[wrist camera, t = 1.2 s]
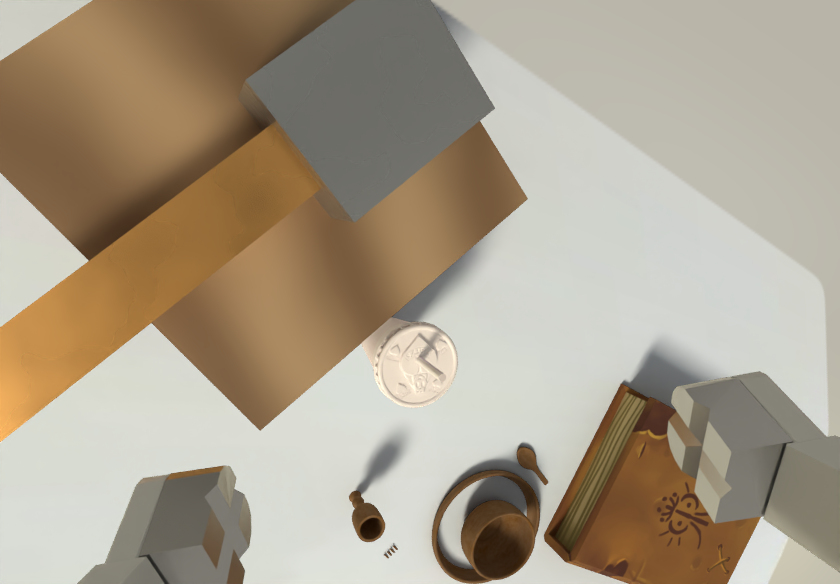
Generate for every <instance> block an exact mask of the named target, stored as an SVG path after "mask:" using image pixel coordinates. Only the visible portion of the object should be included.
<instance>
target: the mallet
mask: <svg viewBox="0 0 840 584" xmlns="http://www.w3.org/2000/svg"><path fill="white" fill-rule="evenodd" d="M238 100H239V101H240V102H241V104H242V105H243V106H244V108H245V109H246V110H247V111H248V113H249V114H250V115H251V117H252V118H253V119H254V120H255V122H256V123H257V124H258V126H259V127H260V128H261V129H262V132H261V133H259V134H258V135H257V136H255V137H254V138H253V139H251V140H250V141H249V142H247V143H246V144H245V145H243V146H242V147H241V148H239V149H238V150H237V151H235V152H234V153H232V154H231V155H230V156H228V157H227V158H226V159H224V160H223V161H222V162H220V163H219V164H218V165H216V166H215V167H214V168H212V169H211V170H210V171H208V172H207V173H206V174H204V175H203V176H202V177H200V178H199V179H198V180H196V181H195V182H194V183H192V184H191V185H190V186H188V187H187V188H186V189H184V190H183V191H182V192H180V193H179V194H178V195H176V196H175V197H174V198H172V199H171V200H170V201H168V202H167V203H166V204H164V205H163V206H162V207H160V208H159V209H158V210H156V211H155V212H154V213H152V214H151V215H150V216H148V217H147V218H146V219H144V220H143V221H142V222H140V223H139V224H138V225H136V226H135V227H134V228H132V229H131V230H130V231H128V232H127V233H126V234H124V235H123V236H122V237H120V238H119V239H118V240H116V241H115V242H114V243H112V244H111V245H110V246H108V247H107V248H106V249H104V250H103V251H102V252H100V253H99V254H98V255H96V256H95V257H94V258H92V259H91V260H90V261H88V262H87V263H86V264H84V265H83V266H82V267H80V268H79V269H78V270H76V271H75V272H74V273H72V274H71V275H70V276H68V277H67V278H66V279H64V280H63V281H62V282H60V283H59V284H58V285H56V286H55V287H54V288H52V289H51V290H50V291H48V292H47V293H46V294H44V295H43V296H42V297H40V298H39V299H38V300H36V301H35V302H34V303H32V304H31V305H30V306H28V307H27V308H26V309H24V310H23V311H22V312H20V313H19V314H18V315H16V316H15V317H14V318H12V319H11V320H10V321H8V322H7V323H6V324H4V325H3V326H2V327H0V442H1V441H2V440H3V439H5V438H6V437H7V436H9V435H10V434H11V433H12V432H14V431H15V430H16V429H17V428H19V427H20V426H21V425H22V424H24V423H25V422H26V421H27V420H29V419H30V418H31V417H33V416H34V415H35V414H36V413H38V412H39V411H40V410H41V409H43V408H44V407H45V406H46V405H48V404H49V403H50V402H52V401H53V400H54V399H55V398H57V397H58V396H59V395H60V394H62V393H63V392H64V391H65V390H67V389H68V388H69V387H71V386H72V385H73V384H74V383H76V382H77V381H78V380H79V379H81V378H82V377H83V376H84V375H86V374H87V373H88V372H90V371H91V370H92V369H93V368H95V367H96V366H97V365H98V364H100V363H101V362H102V361H103V360H105V359H106V358H107V357H109V356H110V355H111V354H112V353H114V352H115V351H116V350H117V349H119V348H120V347H121V346H122V345H124V344H125V343H126V342H128V341H129V340H130V339H131V338H133V337H134V336H135V335H136V334H138V333H139V332H140V331H141V330H143V329H144V328H145V327H147V326H148V325H149V324H150V323H152V322H153V321H154V320H155V319H157V318H158V317H159V316H160V315H162V314H163V313H164V312H165V311H167V310H168V309H169V308H171V307H172V306H173V305H174V304H176V303H177V302H178V301H179V300H181V299H182V298H183V297H184V296H186V295H187V294H188V293H190V292H191V291H192V290H193V289H195V288H196V287H197V286H198V285H200V284H201V283H202V282H203V281H205V280H206V279H207V278H209V277H210V276H211V275H212V274H214V273H215V272H216V271H217V270H219V269H220V268H221V267H222V266H224V265H225V264H226V263H228V262H229V261H230V260H231V259H233V258H234V257H235V256H236V255H238V254H239V253H240V252H241V251H243V250H244V249H245V248H247V247H248V246H249V245H250V244H252V243H253V242H254V241H255V240H257V239H258V238H259V237H260V236H262V235H263V234H264V233H266V232H267V231H268V230H269V229H271V228H272V227H273V226H274V225H276V224H277V223H278V222H279V221H281V220H282V219H283V218H285V217H286V216H287V215H288V214H290V213H291V212H292V211H293V210H295V209H296V208H297V207H298V206H300V205H301V204H302V203H303V202H305V201H306V200H307V199H309V198H310V197H311V196H312V195H313V196H314V197H315V199H316V200H317V201H318V202H319V204H320V205H321V206H322V207H323V209H324V210H325V211H326V213H327V214H328V215H329V216H330V218H334V219H339V220H344V221H349V222H354V223H355V222H356V221H357V220H358V219H360V218H361V217H362V216H363V215H365V214H366V213H367V212H368V211H370V210H371V209H372V208H373V207H374V206H376V205H377V204H378V203H379V202H381V201H382V200H383V199H384V198H385V197H387V196H388V195H389V194H390V193H392V192H393V191H394V190H395V189H397V188H398V187H399V186H400V185H401V184H403V183H404V182H405V181H406V180H408V179H409V178H410V177H411V176H412V175H414V174H415V173H416V172H417V171H419V170H420V169H421V168H422V167H424V166H425V165H426V164H427V163H428V162H430V161H431V160H432V159H433V158H435V157H436V156H437V155H438V154H440V153H441V152H442V151H443V150H444V149H446V148H447V147H448V146H449V145H451V144H452V143H453V142H454V141H455V140H457V139H458V138H459V137H460V136H462V135H463V134H464V133H465V132H467V131H468V130H469V129H470V128H471V127H473V126H474V125H475V124H476V123H478V122H479V121H480V120H481V119H482V118H484V117H485V116H486V115H487V114H489V113H490V112H491V111H492V110H494V109H495V107H494V106H493V104H492V102H491V101H490V99H489V97H488V96H487V94H486V92H485V91H484V89H483V87H482V86H481V84H480V82H479V81H478V79H477V77H476V76H475V74H474V72H473V71H472V69H471V67H470V66H469V64H468V62H467V61H466V59H465V57H464V56H463V54H462V52H461V51H460V49H459V47H458V46H457V44H456V42H455V41H454V39H453V37H452V36H451V34H450V32H449V31H448V29H447V27H446V25H445V24H444V22H443V20H442V19H441V17H440V15H439V14H438V12H437V10H436V9H435V7H434V5H433V4H432V2H431V0H355V1H354V2H352V3H351V4H349V5H348V6H347V7H345V8H344V9H343V10H341V11H340V12H338V13H337V14H336V15H334V16H333V17H331V18H330V19H329V20H327V21H326V22H325V23H323V24H322V25H320V26H319V27H318V28H316V29H315V30H314V31H312V32H311V33H309V34H308V35H307V36H305V37H304V38H302V39H301V40H300V41H298V42H297V43H296V44H294V45H293V46H291V47H290V48H289V49H287V50H286V51H285V52H283V53H282V54H280V55H279V56H278V57H276V58H275V59H273V60H272V61H271V62H269V63H268V64H267V65H265V66H264V67H262V68H261V69H260V70H258V71H257V72H256V73H254V74H253V75H251V76H250V77H249V78H247V79H246V80H245V82H244V85H243V87H242V89H241V92H240V94H239V97H238Z"/></svg>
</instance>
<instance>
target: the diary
mask: <svg viewBox="0 0 840 584" xmlns="http://www.w3.org/2000/svg"><path fill="white" fill-rule="evenodd" d="M675 413H676V410H674V409H672V408H671V407H669V406H667V405H665V404H663V403H662V402H660V401H658V400H656V399H654V398H652V397H649V398H647V397H645V396H644V395H642V394H640V393H638V392H636V391H634V390H633V389H631V388H629V387H627V386H625V385H623V384H621V385H620V387H619V389H618V391H617V393H616V395H615V397H614V399H613V401H612V403H611V405H610V406H609V408H608V410H607V412H606V414H605V416H604V418H603V420H602V422H601V424H600V426H599V428H598V430H597V432H596V434H595V436H594V438H593V440H592V442H591V444H590V446H589V448H588V450H587V452H586V454H585V456H584V458H583V459H582V461H581V463H580V465H579V467H578V469H577V471H576V473H575V475H574V477H573V479H572V481H571V483H570V485H569V487H568V489H567V491H566V493H565V495H564V497H563V499H562V501H561V503H560V505H559V507H558V509H557V511H556V512H555V514H554V516H553V518H552V520H551V522H550V524H549V526H548V528H547V530H546V532H545V534H544V539H545V542H546V543H547V544H548V545H549V546H550V547H551V548H552V549H553V550H554V551H555V552H556V553H557V554H558V555H559V556H560V557H561V558H562V559H563V560H564V561H565V562H567V563H570V564H573V565H576V566H579V567H582V568H585V569H588V570H591V571H593V572H596V573H599V574H602V575H605V576H608V577H611V578H614V579H617V580H620V581H623V582H626V583H629V584H727V583H728V581H729V579H730V577H731V575H732V573H733V571H734V569H735V567H736V565H737V563H738V561H739V559H740V557H741V555H742V553H743V551H744V549H745V547H746V545H747V543H748V541H749V540H750V538H751V536H752V534H753V532H754V530H755V528H756V526H757V524H758V522H759V520H760V518H761V517H755V518H749V519H742V520H735V521H728V522H722V523H714V522H713V520H712V519H711V517H710V516H709V514H708V512H707V511H706V509H705V508H704V506H703V504H702V503H701V501H700V500H699V498H698V496H697V495H696V493H695V492H694V491H695V485H696V479H695V478H693V477H691V476H689V475H688V474H686V473H684V472H683V471H681V469H680V467H679V466H678V464H677V462H676V461H675V459H674V456H673V454H672V452H671V449H670V445H669V440H668V435H667V431H668V420H669V419H670V418H671V417H672V416H673V415H674V414H675Z"/></svg>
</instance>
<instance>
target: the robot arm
mask: <svg viewBox="0 0 840 584" xmlns="http://www.w3.org/2000/svg"><path fill="white" fill-rule="evenodd" d="M671 403H672V405H673V406H674V408H675V409H676V413H675V414H674V415H673V416H672V417H671V418H670V419H669V420H668V431H667V435H668V440H669V445H670V449H671V452H672V454H673V456H674V459H675V461H676V462H677V464H678V466H679V467H680V469H681V471H683V472H684V473H686V474H688V475H689V476H691V477H693V478H695V479H696V485H695V491H694V492H695V493H696V495H697V496H698V498H699V500H700V501H701V503H702V504H703V506H704V508H705V509H706V511H707V512H708V514H709V516H710V517H711V519H712V520H713V522H714V523H722V522H728V521H735V520H742V519H749V518H755V517H762V516H764V518H763V519H764V520H766V521H767V522H769V523H770V524H771V525H773V526H774V527H776V528H777V529H778V530H780V531H781V532H783V533H784V534H786V535H787V536H788V537H790V538H791V539H793V540H794V541H796V542H797V543H798V544H800V545H801V546H803V547H804V548H805V549H807V550H808V551H810V552H811V553H813V554H814V555H816V556H817V557H818V558H820V559H821V560H823V561H824V562H826V563H827V564H828V565H830V566H831V567H833V568H834V569H835V570H837V571H838V572H840V437H838V436H829V437H826V436H825V435H824V434H823V432H822V431H821V430H820V429H819V428H818V427H817V426H816V425H815V424H814V423H813V422H812V421H811V420H810V419H809V418H808V417H807V416H806V415H805V414H804V413H803V412H802V411H801V410H800V409H799V408H798V407H797V406H796V405H795V403H794V402H793V401H792V400H791V399H790V398H789V397H788V396H787V395H786V394H785V393H784V392H783V391H782V390H781V389H780V388H779V387H778V386H777V385H776V384H775V383H774V382H773V381H772V380H771V379H770V378H769V377H768V376H767V375H766V374H764V373H762V372H760V371H759V372H754V373H748V374H743V375H737V376H732V377H725V378H720V379H714V380H709V381H704V382H698V383H693V384H687V385H682V386H677V387H676V388H675V390H674V391H673V393H672V400H671ZM235 483H236V476H235V475H234V473H233V471H232V469H231V467H230V466H219V467H212V468H205V469H198V470H192V471H185V472H178V473H171V474H168V475H161V476H154V477H148V478H143V479H142V480H141V481H140V482H139V483H138V484H137V485H136V487H135V489H134V492H133V494H132V497H131V499H130V502H129V504H128V507H127V509H126V511H125V514H124V516H123V519H122V521H121V524H120V526H119V529H118V531H117V534H116V536H115V539H114V541H113V544H112V546H111V549H110V551H109V554H108V556H107V559H106V561H105V563H104V564H99V565H96V566H95V567H94V568H93V569H92V570H91V571H90V572H89V573H88V574H86V575H85V576H84V577H83V578H82V579H81V580H80V581H79V582H78V583H77V584H243V579H244V573H245V570H244V568H243V566H242V564H241V562H240V560H239V559H240V557H241V556H242V555H243V554H244V553H245V551H246V550H247V549H248V548H249V544H250V537H251V514H250V509H249V505H248V502H247V500H246V498H245V495H244V494H243V493H241V492H239V491H237V490H235V489H234V487H235Z"/></svg>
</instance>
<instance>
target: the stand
mask: <svg viewBox="0 0 840 584" xmlns="http://www.w3.org/2000/svg"><path fill="white" fill-rule="evenodd" d="M354 1H355V0H93V1H91V2H90V3H88V4H87V5H85V6H84V7H82V8H81V9H79V10H77V11H76V12H74V13H73V14H71V15H70V16H68V17H67V18H65V19H64V20H62V21H61V22H59V23H58V24H56V25H55V26H53V27H51V28H50V29H48V30H47V31H45V32H44V33H42V34H41V35H39V36H38V37H36V38H35V39H33V40H32V41H30V42H29V43H27V44H26V45H24V46H22V47H21V48H19V49H18V50H16V51H15V52H13V53H12V54H10V55H9V56H7V57H6V58H4V59H3V60H1V61H0V173H1V174H2V175H3V176H4V177H5V178H6V179H7V180H8V181H9V182H10V183H11V184H12V185H13V186H14V187H15V188H16V189H17V190H18V191H19V192H20V193H21V194H22V195H23V196H24V197H25V198H26V199H27V200H28V201H29V202H30V203H31V204H32V205H33V206H34V207H35V208H36V209H37V210H39V211H40V212H41V213H42V214H43V215H44V216H45V217H46V218H47V219H48V220H49V221H50V222H51V223H52V224H53V225H54V226H55V227H56V228H57V229H58V230H59V231H60V232H61V233H62V234H63V235H64V236H65V237H66V238H67V239H68V240H69V241H70V242H71V243H72V244H73V245H74V246H75V247H76V248H77V249H78V250H79V251H80V252H81V253H82V254H83V255H84V256H85V257H86V258H87V259H88V260H89V261H90V260H91V259H92V258H94V257H95V256H96V255H98V254H99V253H100V252H102V251H103V250H104V249H106V248H107V247H108V246H110V245H111V244H112V243H114V242H115V241H116V240H118V239H119V238H120V237H122V236H123V235H124V234H126V233H127V232H128V231H130V230H131V229H132V228H134V227H135V226H136V225H138V224H139V223H140V222H142V221H143V220H144V219H146V218H147V217H148V216H150V215H151V214H152V213H154V212H155V211H156V210H158V209H159V208H160V207H162V206H163V205H164V204H166V203H167V202H168V201H170V200H171V199H172V198H174V197H175V196H176V195H178V194H179V193H180V192H182V191H183V190H184V189H186V188H187V187H188V186H190V185H191V184H192V183H194V182H195V181H196V180H198V179H199V178H200V177H202V176H203V175H204V174H206V173H207V172H208V171H210V170H211V169H212V168H214V167H215V166H216V165H218V164H219V163H220V162H222V161H223V160H224V159H226V158H227V157H228V156H230V155H231V154H232V153H234V152H235V151H237V150H238V149H239V148H241V147H242V146H243V145H245V144H246V143H247V142H249V141H250V140H251V139H253V138H254V137H255V136H257V135H258V134H259V133H261V132H262V129H261V128H260V127H259V126H258V124H257V123H256V122H255V120H254V119H253V118H252V117H251V115H250V114H249V113H248V111H247V110H246V109H245V108H244V106H243V105H242V104H241V102H240V101H239V100H238V97H239V94H240V92H241V89H242V87H243V85H244V82H245V80H246V79H247V78H249V77H250V76H251V75H253V74H254V73H256V72H257V71H258V70H260V69H261V68H262V67H264V66H265V65H267V64H268V63H269V62H271V61H272V60H273V59H275V58H276V57H278V56H279V55H280V54H282V53H283V52H285V51H286V50H287V49H289V48H290V47H291V46H293V45H294V44H296V43H297V42H298V41H300V40H301V39H302V38H304V37H305V36H307V35H308V34H309V33H311V32H312V31H314V30H315V29H316V28H318V27H319V26H320V25H322V24H323V23H325V22H326V21H327V20H329V19H330V18H331V17H333V16H334V15H336V14H337V13H338V12H340V11H341V10H343V9H344V8H345V7H347V6H348V5H349V4H351V3H352V2H354ZM527 199H528V198H527V197H526V195H525V193H524V192H523V190H522V189H521V187H520V185H519V184H518V182H517V180H516V179H515V177H514V176H513V174H512V172H511V171H510V169H509V167H508V166H507V164H506V163H505V161H504V159H503V158H502V156H501V154H500V153H499V151H498V150H497V148H496V146H495V145H494V143H493V141H492V140H491V138H490V137H489V135H488V133H487V132H486V130H485V128H484V127H483V125H482V124H481V122H480V121H479V122H478V123H476V124H475V125H474V126H473V127H471V128H470V129H469V130H468V131H467V132H465V133H464V134H463V135H462V136H460V137H459V138H458V139H457V140H455V141H454V142H453V143H452V144H451V145H449V146H448V147H447V148H446V149H444V150H443V151H442V152H441V153H440V154H438V155H437V156H436V157H435V158H433V159H432V160H431V161H430V162H428V163H427V164H426V165H425V166H424V167H422V168H421V169H420V170H419V171H417V172H416V173H415V174H414V175H412V176H411V177H410V178H409V179H408V180H406V181H405V182H404V183H403V184H401V185H400V186H399V187H398V188H397V189H395V190H394V191H393V192H392V193H390V194H389V195H388V196H387V197H385V198H384V199H383V200H382V201H381V202H379V203H378V204H377V205H376V206H374V207H373V208H372V209H371V210H370V211H368V212H367V213H366V214H365V215H363V216H362V217H361V218H360V219H358V220H357V221H356V222H355V223H354V222H349V221H344V220H339V219H334V218H330V216H329V215H328V214H327V213H326V211H325V210H324V209H323V207H322V206H321V205H320V204H319V202H318V201H317V200H316V199H315V197H314V196H313V195H312V196H311V197H310V198H309V199H307V200H306V201H305V202H303V203H302V204H301V205H300V206H298V207H297V208H296V209H295V210H293V211H292V212H291V213H290V214H288V215H287V216H286V217H285V218H283V219H282V220H281V221H279V222H278V223H277V224H276V225H274V226H273V227H272V228H271V229H269V230H268V231H267V232H266V233H264V234H263V235H262V236H260V237H259V238H258V239H257V240H255V241H254V242H253V243H252V244H250V245H249V246H248V247H247V248H245V249H244V250H243V251H241V252H240V253H239V254H238V255H236V256H235V257H234V258H233V259H231V260H230V261H229V262H228V263H226V264H225V265H224V266H222V267H221V268H220V269H219V270H217V271H216V272H215V273H214V274H212V275H211V276H210V277H209V278H207V279H206V280H205V281H203V282H202V283H201V284H200V285H198V286H197V287H196V288H195V289H193V290H192V291H191V292H190V293H188V294H187V295H186V296H184V297H183V298H182V299H181V300H179V301H178V302H177V303H176V304H174V305H173V306H172V307H171V308H169V309H168V310H167V311H165V312H164V313H163V314H162V315H160V316H159V317H158V318H157V319H155V320H154V321H153V322H152V324H153V325H154V326H155V327H156V328H157V329H158V330H159V331H160V332H161V333H162V334H163V335H164V336H165V337H166V338H167V339H168V340H169V341H170V342H171V343H172V344H173V345H174V346H175V347H176V348H177V349H178V350H179V351H180V352H181V353H182V354H183V355H184V356H185V357H186V358H187V359H188V360H189V361H190V362H191V363H192V364H193V365H194V366H195V367H196V368H197V369H198V370H199V371H200V372H201V373H202V374H203V375H205V376H206V377H207V378H208V379H209V380H210V381H211V382H212V383H213V384H214V385H215V386H216V387H217V388H218V389H219V390H220V391H221V392H222V393H223V394H224V395H225V396H226V397H227V398H228V399H229V400H230V401H231V402H232V403H233V404H234V405H235V406H236V407H237V408H238V409H239V410H240V411H241V412H242V413H243V414H244V415H245V416H246V417H247V418H248V419H249V420H250V421H251V422H252V423H253V424H254V425H255V426H256V427H257V428H258V429H259V430H261V429H263V428H264V427H265V426H266V425H267V424H268V423H270V422H271V421H272V420H273V419H274V418H275V417H277V416H278V415H279V414H280V413H281V412H282V411H283V410H285V409H286V408H287V407H288V406H289V405H290V404H292V403H293V402H294V401H295V400H296V399H297V398H298V397H300V396H301V395H302V394H303V393H304V392H305V391H307V390H308V389H309V388H310V387H311V386H312V385H313V384H315V383H316V382H317V381H318V380H319V379H320V378H322V377H323V376H324V375H325V374H326V373H327V372H328V371H330V370H331V369H332V368H333V367H334V366H335V365H337V364H338V363H339V362H340V361H341V360H342V359H344V358H345V357H346V356H347V355H348V354H349V353H350V352H352V351H353V350H354V349H355V348H356V347H357V346H359V345H360V344H361V343H362V342H363V341H364V340H365V339H367V338H368V337H369V336H370V335H371V334H372V333H374V332H375V331H376V330H377V329H378V328H379V327H380V326H382V325H383V324H384V323H385V322H386V321H387V320H389V319H390V318H391V317H392V316H393V315H394V314H395V313H397V312H398V311H399V310H400V309H401V308H402V307H404V306H405V305H406V304H407V303H408V302H409V301H411V300H412V299H413V298H414V297H415V296H416V295H417V294H419V293H420V292H421V291H422V290H423V289H424V288H426V287H427V286H428V285H429V284H430V283H431V282H432V281H434V280H435V279H436V278H437V277H438V276H439V275H441V274H442V273H443V272H444V271H445V270H446V269H447V268H449V267H450V266H451V265H452V264H453V263H454V262H456V261H457V260H458V259H459V258H460V257H461V256H462V255H464V254H465V253H466V252H467V251H468V250H469V249H471V248H472V247H473V246H474V245H475V244H476V243H477V242H479V241H480V240H481V239H482V238H483V237H484V236H486V235H487V234H488V233H489V232H490V231H491V230H493V229H494V228H495V227H496V226H497V225H498V224H499V223H501V222H502V221H503V220H504V219H505V218H506V217H508V216H509V215H510V214H511V213H512V212H513V211H514V210H516V209H517V208H518V207H519V206H520V205H521V204H523V203H524V202H525V201H526V200H527Z"/></svg>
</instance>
